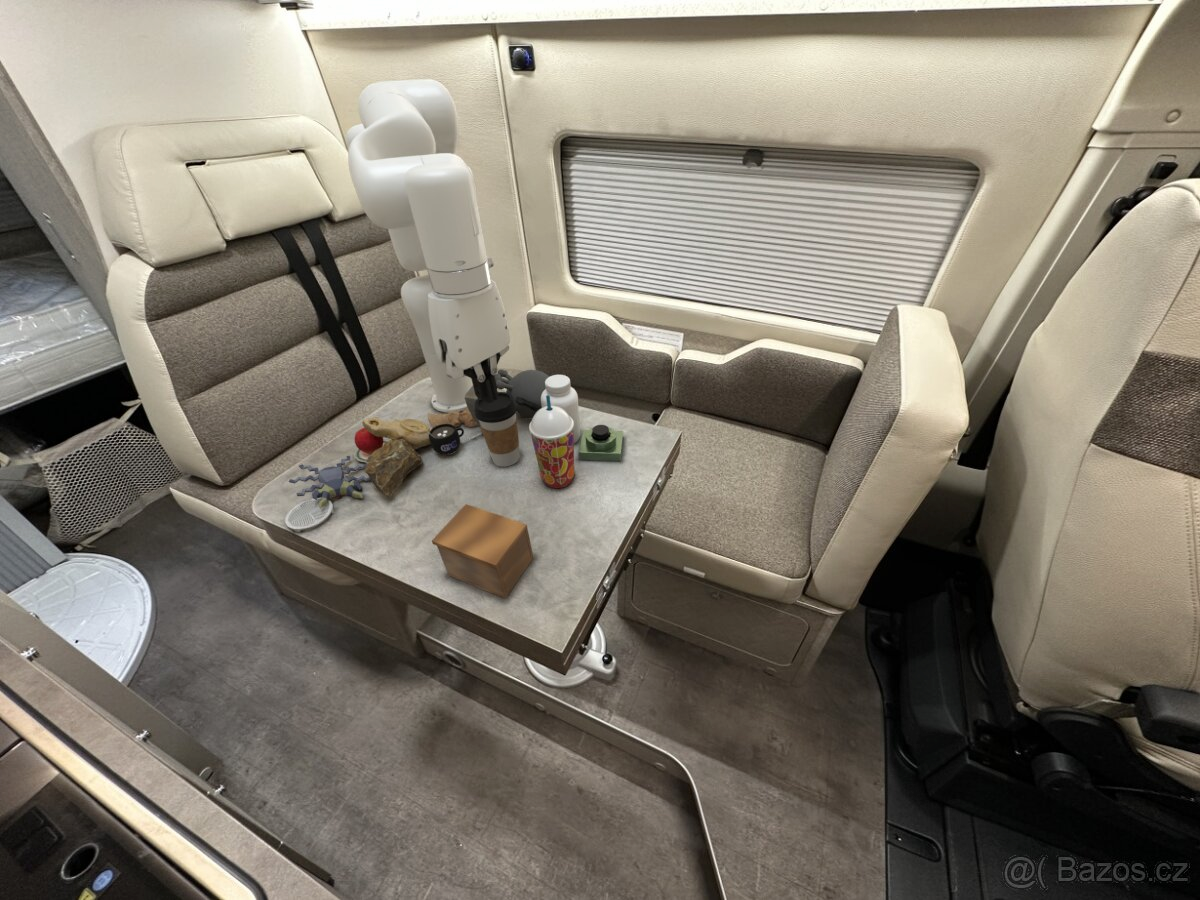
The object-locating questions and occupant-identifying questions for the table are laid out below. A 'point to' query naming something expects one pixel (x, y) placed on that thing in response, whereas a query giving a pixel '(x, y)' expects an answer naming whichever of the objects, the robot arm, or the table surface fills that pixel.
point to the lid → (480, 535)
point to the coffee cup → (500, 428)
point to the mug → (446, 438)
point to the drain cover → (317, 515)
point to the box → (491, 568)
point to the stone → (471, 402)
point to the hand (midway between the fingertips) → (487, 398)
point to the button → (600, 432)
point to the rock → (391, 465)
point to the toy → (332, 482)
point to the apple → (367, 444)
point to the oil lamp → (400, 430)
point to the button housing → (601, 446)
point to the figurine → (452, 419)
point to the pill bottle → (563, 399)
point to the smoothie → (553, 444)
